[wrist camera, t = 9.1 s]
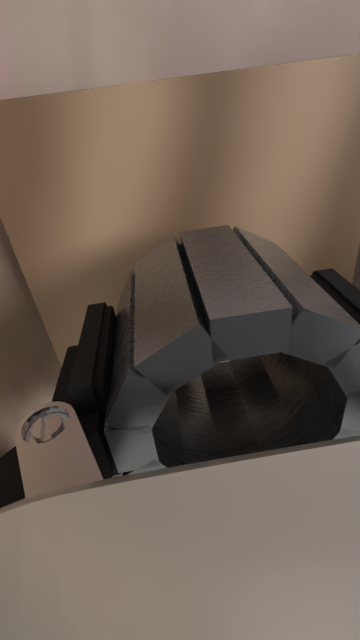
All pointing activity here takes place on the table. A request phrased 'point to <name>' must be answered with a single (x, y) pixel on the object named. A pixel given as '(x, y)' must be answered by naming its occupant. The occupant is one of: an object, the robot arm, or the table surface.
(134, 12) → the table surface
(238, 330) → the grey hollow cylinder
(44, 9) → the table surface
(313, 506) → the robot arm
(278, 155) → the shaft base
